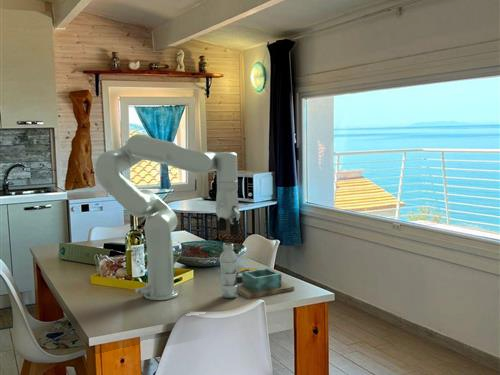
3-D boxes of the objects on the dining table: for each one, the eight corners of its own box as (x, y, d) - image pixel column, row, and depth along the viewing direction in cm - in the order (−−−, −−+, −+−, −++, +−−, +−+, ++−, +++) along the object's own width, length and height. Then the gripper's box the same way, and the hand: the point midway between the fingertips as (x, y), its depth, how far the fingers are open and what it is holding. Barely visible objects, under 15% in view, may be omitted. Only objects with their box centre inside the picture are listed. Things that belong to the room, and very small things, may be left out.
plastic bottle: (232, 300, 198) (231, 246, 196) (216, 298, 202) (215, 244, 200) (241, 296, 204) (240, 243, 202) (226, 293, 207) (225, 241, 205)
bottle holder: (248, 298, 200) (248, 281, 200) (230, 288, 214) (229, 272, 213) (294, 290, 210) (294, 273, 209) (274, 281, 223) (273, 265, 222)
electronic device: (258, 275, 235) (258, 267, 234) (252, 285, 219) (252, 277, 219) (239, 274, 236) (239, 267, 236) (232, 284, 221) (232, 276, 220)
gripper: (208, 184, 204) (209, 230, 206) (228, 189, 189) (229, 237, 191) (226, 183, 208) (226, 228, 210) (247, 187, 193) (248, 235, 195)
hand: (228, 232), depth 200 cm, fingers open, 9 cm apart
